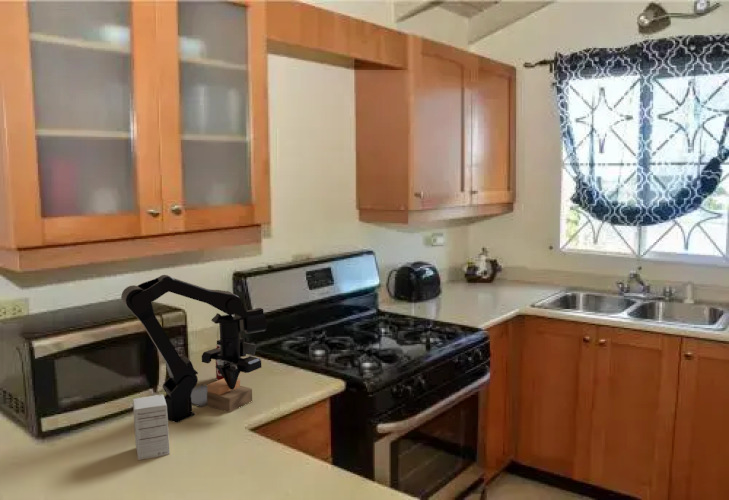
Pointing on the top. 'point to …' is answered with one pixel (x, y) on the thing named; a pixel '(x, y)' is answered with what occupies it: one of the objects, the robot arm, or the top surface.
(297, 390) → the top surface
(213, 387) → the terracotta tile
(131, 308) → the robot arm
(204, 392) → the charcoal mat
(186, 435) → the top surface
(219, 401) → the block
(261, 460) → the top surface
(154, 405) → the supplement box
